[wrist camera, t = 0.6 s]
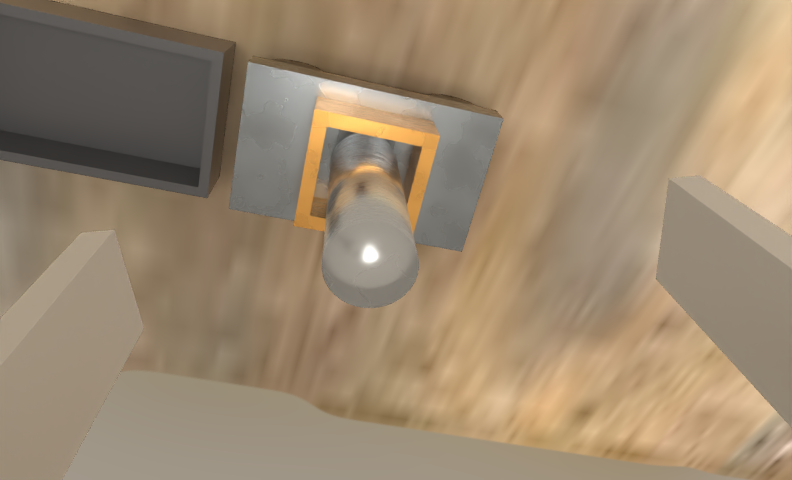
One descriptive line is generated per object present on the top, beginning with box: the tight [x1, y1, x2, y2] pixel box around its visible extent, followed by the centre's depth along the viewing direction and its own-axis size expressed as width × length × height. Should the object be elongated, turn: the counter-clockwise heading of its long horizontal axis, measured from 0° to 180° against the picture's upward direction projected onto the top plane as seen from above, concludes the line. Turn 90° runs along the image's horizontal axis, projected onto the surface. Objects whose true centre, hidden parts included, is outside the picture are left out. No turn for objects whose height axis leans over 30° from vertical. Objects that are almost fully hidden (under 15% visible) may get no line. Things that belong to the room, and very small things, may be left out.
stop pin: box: [322, 133, 419, 308], centre depth 31 cm, size 4×4×13 cm
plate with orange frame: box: [229, 56, 503, 252], centre depth 38 cm, size 15×9×8 cm, turn 77°
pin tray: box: [0, 0, 236, 198], centre depth 37 cm, size 16×9×4 cm, turn 77°
